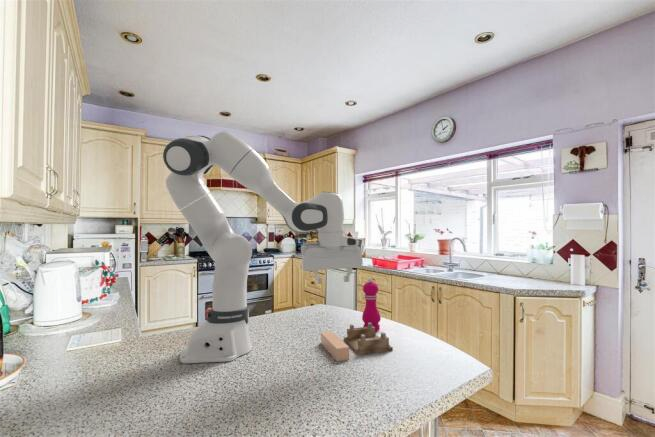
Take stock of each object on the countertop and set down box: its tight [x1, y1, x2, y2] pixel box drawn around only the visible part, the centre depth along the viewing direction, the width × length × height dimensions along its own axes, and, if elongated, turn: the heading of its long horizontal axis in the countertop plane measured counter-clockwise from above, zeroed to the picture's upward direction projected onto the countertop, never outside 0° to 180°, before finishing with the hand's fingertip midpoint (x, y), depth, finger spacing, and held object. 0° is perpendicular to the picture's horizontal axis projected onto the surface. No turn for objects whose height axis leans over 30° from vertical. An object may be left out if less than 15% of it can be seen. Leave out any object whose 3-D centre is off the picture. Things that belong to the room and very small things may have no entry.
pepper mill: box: [361, 277, 381, 332], centre depth 125 cm, size 7×7×20 cm
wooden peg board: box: [343, 322, 394, 356], centre depth 108 cm, size 12×14×6 cm
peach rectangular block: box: [320, 330, 350, 362], centre depth 104 cm, size 4×16×4 cm, turn 19°
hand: (333, 282), depth 105 cm, fingers open, 8 cm apart
